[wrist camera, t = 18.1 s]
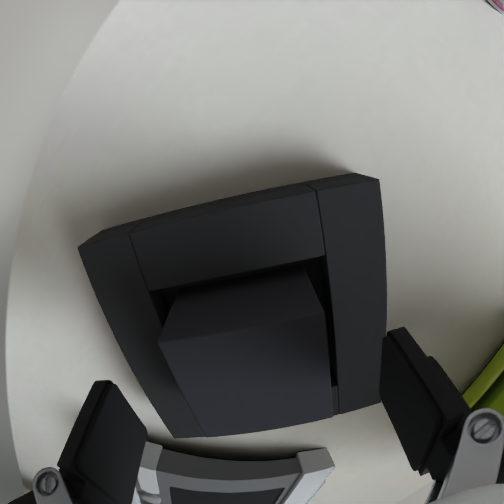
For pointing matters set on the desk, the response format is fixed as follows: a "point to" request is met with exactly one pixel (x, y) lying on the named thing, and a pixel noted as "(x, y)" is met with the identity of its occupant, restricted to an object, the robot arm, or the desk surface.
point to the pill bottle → (497, 5)
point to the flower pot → (488, 386)
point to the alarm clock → (228, 478)
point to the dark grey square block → (250, 352)
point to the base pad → (248, 263)
